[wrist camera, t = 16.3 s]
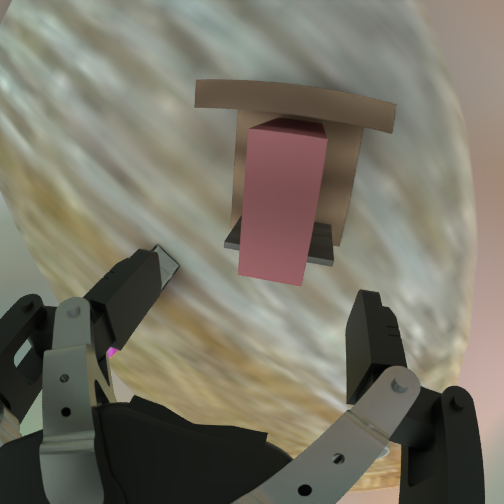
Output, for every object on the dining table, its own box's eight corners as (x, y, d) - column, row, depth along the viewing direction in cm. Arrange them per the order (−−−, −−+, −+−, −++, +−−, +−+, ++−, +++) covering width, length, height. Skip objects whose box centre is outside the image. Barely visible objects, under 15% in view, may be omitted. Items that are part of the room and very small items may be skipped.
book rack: (243, 82, 27) (196, 72, 16) (364, 99, 26) (397, 97, 14) (233, 224, 36) (194, 284, 25) (338, 241, 34) (345, 312, 23)
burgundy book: (278, 117, 28) (248, 128, 16) (322, 123, 27) (327, 139, 15) (269, 206, 33) (237, 274, 21) (308, 212, 32) (301, 286, 20)
